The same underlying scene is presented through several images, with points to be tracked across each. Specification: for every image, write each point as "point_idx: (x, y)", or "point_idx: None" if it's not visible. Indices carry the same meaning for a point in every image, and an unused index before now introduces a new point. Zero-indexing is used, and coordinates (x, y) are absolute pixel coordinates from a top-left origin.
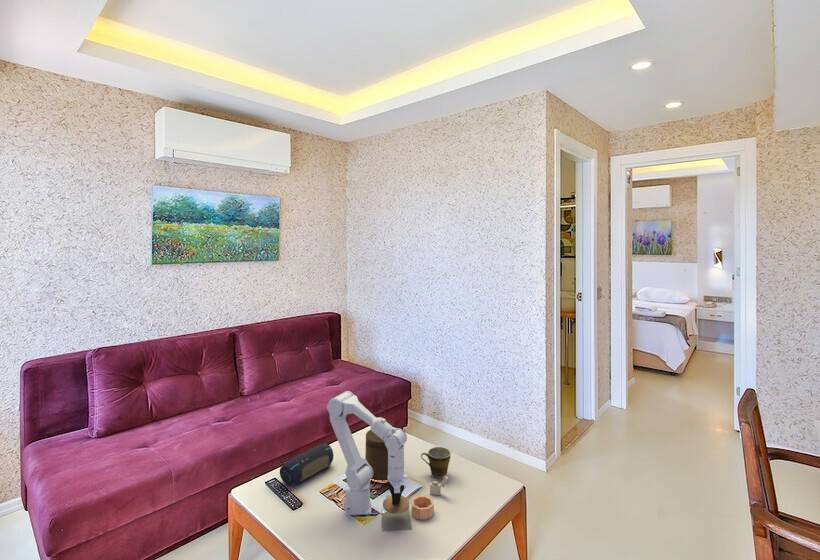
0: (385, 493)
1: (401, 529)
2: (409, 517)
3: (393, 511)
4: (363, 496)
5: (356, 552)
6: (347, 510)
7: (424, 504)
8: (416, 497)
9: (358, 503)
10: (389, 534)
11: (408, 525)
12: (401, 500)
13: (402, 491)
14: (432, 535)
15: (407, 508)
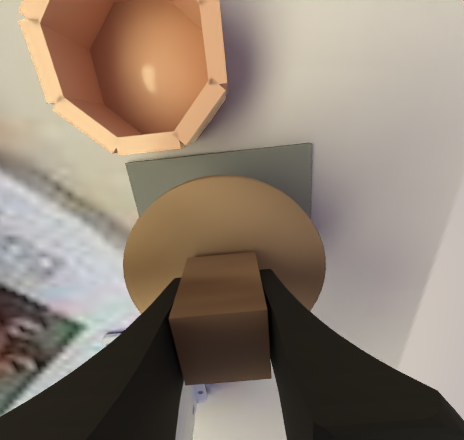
0: (22, 283)
1: (305, 198)
2: (210, 158)
3: (320, 288)
4: (176, 438)
5: (401, 345)
6: (195, 407)
7: (82, 50)
8: (69, 111)
9: (188, 413)
10: (324, 248)
11: (277, 163)
12: (190, 243)
13: (396, 372)
14: (368, 5)
15: (281, 191)
